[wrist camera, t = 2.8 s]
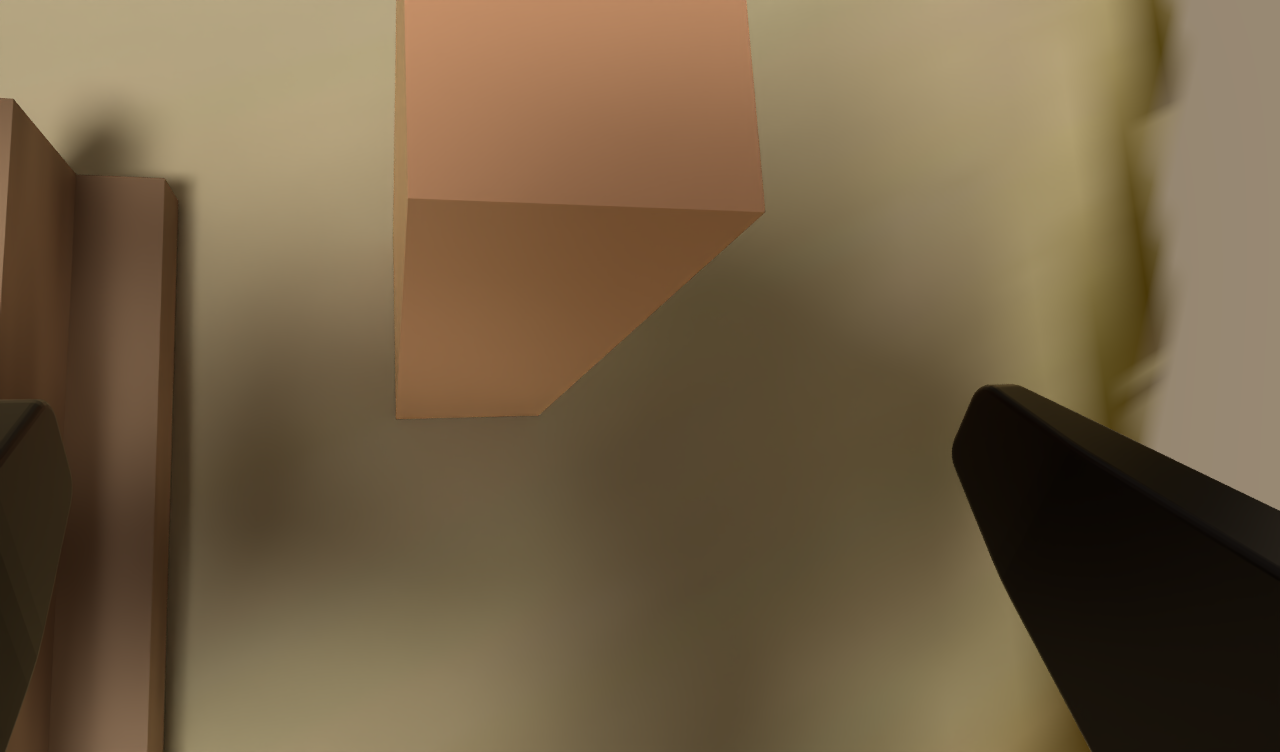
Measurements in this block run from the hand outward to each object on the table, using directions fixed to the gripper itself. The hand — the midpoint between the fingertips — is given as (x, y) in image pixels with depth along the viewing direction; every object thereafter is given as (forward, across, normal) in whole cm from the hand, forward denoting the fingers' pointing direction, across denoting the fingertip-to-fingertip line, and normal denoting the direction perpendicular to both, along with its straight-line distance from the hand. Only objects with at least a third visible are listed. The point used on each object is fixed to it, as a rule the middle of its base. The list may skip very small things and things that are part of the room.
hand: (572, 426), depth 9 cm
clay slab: (+10, 0, +5) cm, 11 cm away
